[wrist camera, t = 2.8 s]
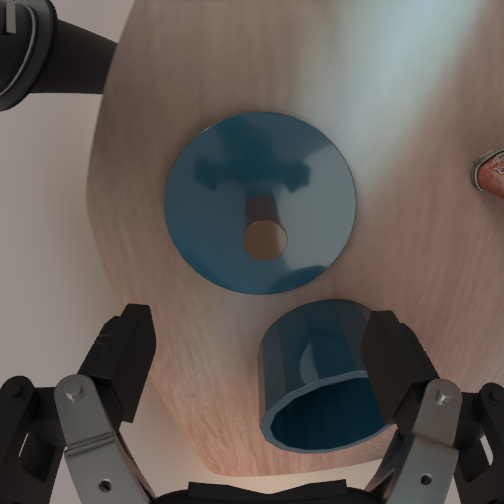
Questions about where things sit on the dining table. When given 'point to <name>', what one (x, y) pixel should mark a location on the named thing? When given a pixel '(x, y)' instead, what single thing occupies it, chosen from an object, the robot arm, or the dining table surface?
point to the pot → (317, 380)
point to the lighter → (489, 172)
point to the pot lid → (260, 203)
